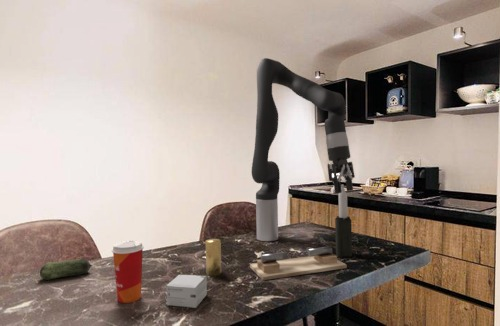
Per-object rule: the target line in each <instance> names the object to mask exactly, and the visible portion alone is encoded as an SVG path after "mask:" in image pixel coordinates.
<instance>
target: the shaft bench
mask: <svg viewBox="0 0 500 326" xmlns="http://www.w3.org/2000/svg"><path fill="white" fill-rule="evenodd" d="M347 266H348V265H347V264H346V263H344V262H342V261H340V259H339V260H338V256H337V255H335V254H334V253H332V254H327V255H319V256H312V257H309V256H308V255H307V256H302V257H301V256H300V257H295V258H287V260H281V261H273V262H265V263H262V262H261V259H257V260H256V262H255V263H254V262H253V263H249V267H250V269H251V270H252V271H253V272H254V273H255V274H256V275H257V276H258V277H259V278H260V279H261V280H262V281H267V280H273V279H274V280H275V279H281V278H287V277H293V276H294V277H295V276H300V275H301V276H302V275H307V274H308V275H309V274H315V273H321V272H330V271H334V270H342V269H347V268H348V267H347Z"/></svg>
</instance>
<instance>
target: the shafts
mask: <svg viewBox="0 0 500 326" xmlns="http://www.w3.org/2000/svg"><path fill="white" fill-rule="evenodd" d="M327 254H333V248H332V246H322V247H315V248H308V249H307V250H306V255H307V257H308V256H309V257H312V256H319V255H327ZM287 259H289V257H288V253H287V251H283V252H281V251H280V252H274V253H265V254H260V260H261V262H262V263H265V262H273V261H281V260H287Z"/></svg>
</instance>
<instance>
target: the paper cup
mask: <svg viewBox="0 0 500 326" xmlns="http://www.w3.org/2000/svg"><path fill="white" fill-rule="evenodd" d="M144 248H145V247H144V245H143V243H142V241H140V240H135V241H134V240H129V241H128V240H125V241H120V242H117V243H115V244H113V246H112V249H111V252H112V254H113V265H114V276H115V277H114V278H115V286H116V296H117V301H118V303H121V304H130V303H134V302H137V301H138V300H140V299H141V297H142V285H143V284H142V282H143V281H142V279H143V276H142V275H143V249H144Z"/></svg>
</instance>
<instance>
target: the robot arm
mask: <svg viewBox="0 0 500 326" xmlns="http://www.w3.org/2000/svg"><path fill="white" fill-rule="evenodd" d="M273 84H276V85H281V86H284V87H286V88H289V89H290V90H291V91H292V92H293V93H294V94H295V95H297V96H299V97H300V98H302V99H305V100H306V101H309V102H310V103H312V104H313V105H314V106H315V107H317V108H318V109H320V110H322V111H325V112H326V111H327V113H328V114H327V115H328V116H327V117H328V118H326V119H325V121H324V131H325V139H326V141H325V142H326V150H327V157H328V161H330V163H327V173H328V180H329V182H332V183H333V187H334V193H335V194H339V193H341V192H342V190H341V187H342V186H341V185H342V183H341V177H343V178H344V180H345V181H344V182H345V190H346V191H347V192H351V191H353V190H354V186H353V179H354V178H356V176H355V171H354V164H353V161H348V159H350V158H351V152H350V144H349V139H348V138H349V137H348V134H347V129H346V123H345V118H346V101H345V98H344V95H342V93H340V92H336V91H332V90H329V89H326V88H325V87H323V86H321V85H320V84H318V83H317V82H315V81H312V80H311V79H308V78H306V77H304V76H302V75H299V74H297V73H296V72H293V71H292V70H290V68H288V67H287V66H285V65H284V64H283V63H281V62H280V61H278V60H276V59H271V58H267V57H266V58H262V59H261V60H260V61H258V64H257V69H256V85H257V86H256V91H257V93H256V94H257V100H256V101H257V103H256V104H257V105H256V107H257V108H256V122H255V139H254V151H253V156H252V157H253V158H252V163H251V177H252V179H253V181H254V182H255V183H256V184H261V187H260V188H259V190H257V191H256V193H255V207H256V208H255V212H256V213H255V215H256V216H255V217H256V218H255V219H256V222H255V223H256V240H257V241H260V242H273V241H277V240H279V215H278V214H279V212H278V210H279V209H278V207H279V206H278V205H279V204H278V194H279V192H280V173H281V172H280V168H279V165H278V164H277V163H276V162H274V161H272V160H271V161H270V160H269V152H270V149H271V146H272V144H273V142H274V140H275V138H276V135H277V134H278V129H279V112H278V108H277V105H276V103H275V99H274V96H273Z"/></svg>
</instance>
